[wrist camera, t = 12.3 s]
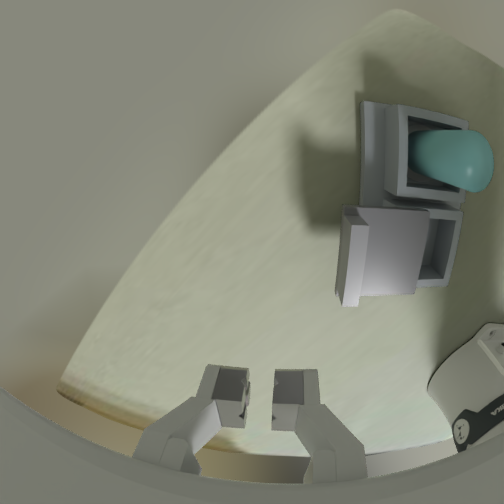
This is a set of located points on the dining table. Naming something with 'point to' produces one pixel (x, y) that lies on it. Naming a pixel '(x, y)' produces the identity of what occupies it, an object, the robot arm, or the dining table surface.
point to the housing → (411, 180)
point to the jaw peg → (452, 157)
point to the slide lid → (379, 251)
